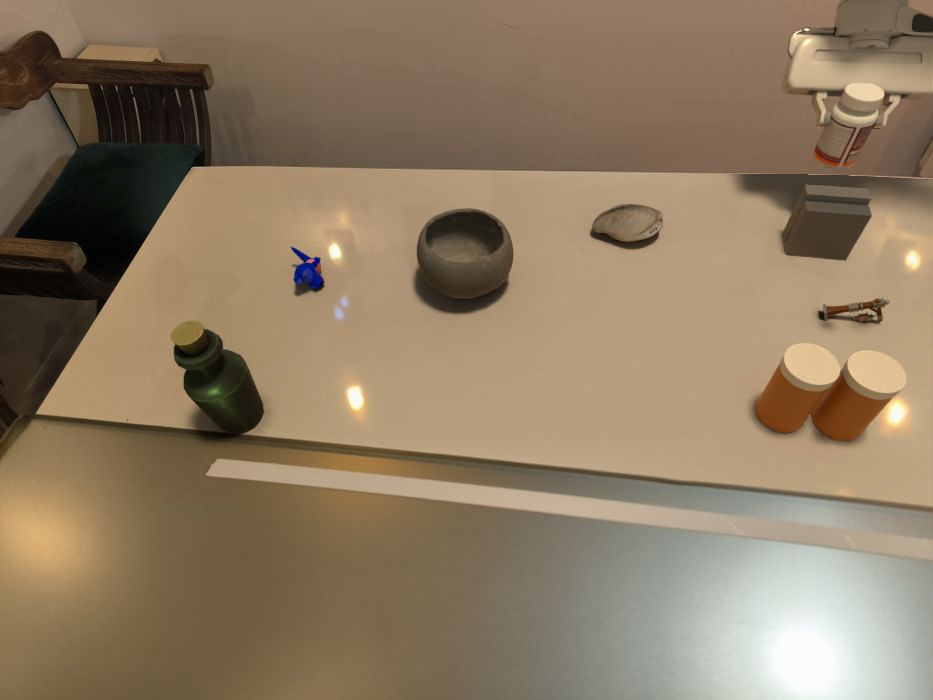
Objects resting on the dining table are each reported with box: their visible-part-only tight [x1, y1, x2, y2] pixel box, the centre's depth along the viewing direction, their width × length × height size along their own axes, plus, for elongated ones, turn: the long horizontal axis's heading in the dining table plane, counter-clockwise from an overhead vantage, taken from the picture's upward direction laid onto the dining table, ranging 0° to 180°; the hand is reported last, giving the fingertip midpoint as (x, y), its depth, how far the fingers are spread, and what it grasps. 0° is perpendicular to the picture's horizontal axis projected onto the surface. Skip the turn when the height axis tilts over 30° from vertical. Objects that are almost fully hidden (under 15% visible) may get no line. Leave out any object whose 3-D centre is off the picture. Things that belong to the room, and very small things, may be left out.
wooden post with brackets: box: [822, 297, 890, 323], centre depth 88 cm, size 2×8×4 cm, turn 77°
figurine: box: [290, 246, 325, 290], centre depth 99 cm, size 5×8×5 cm, turn 12°
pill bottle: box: [812, 83, 884, 170], centre depth 91 cm, size 6×6×11 cm
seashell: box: [591, 203, 664, 243], centre depth 101 cm, size 12×8×5 cm
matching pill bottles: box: [755, 342, 907, 442], centre depth 75 cm, size 6×13×11 cm, turn 78°
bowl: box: [416, 207, 514, 299], centre depth 95 cm, size 15×15×10 cm
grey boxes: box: [781, 184, 873, 261], centre depth 95 cm, size 5×9×10 cm, turn 78°
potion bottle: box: [170, 319, 265, 434], centre depth 78 cm, size 8×8×18 cm
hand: (850, 127), depth 90 cm, fingers closed on pill bottle, 6 cm apart
